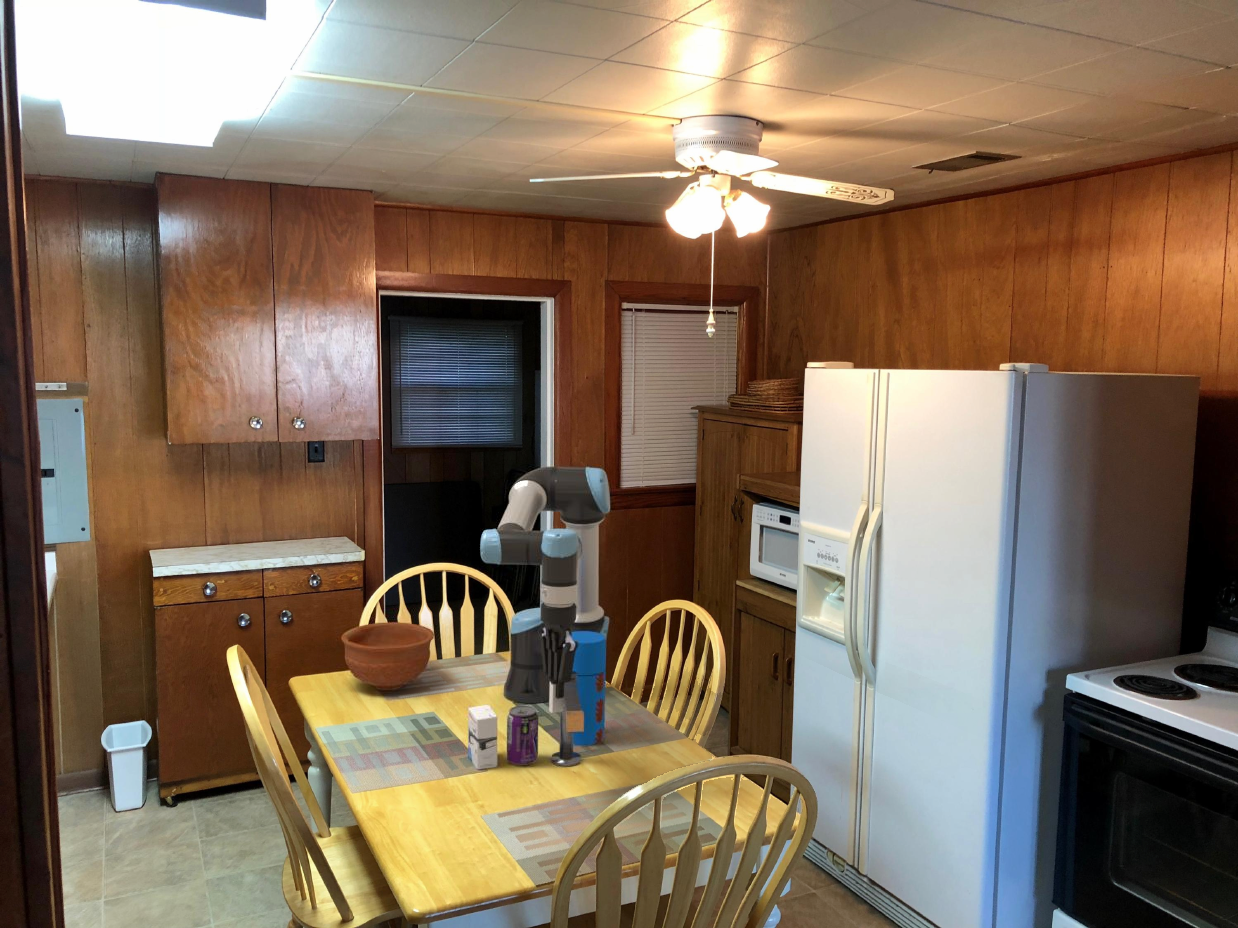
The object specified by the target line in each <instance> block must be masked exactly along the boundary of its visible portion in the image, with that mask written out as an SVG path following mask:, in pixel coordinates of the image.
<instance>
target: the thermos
mask: <svg viewBox="0 0 1238 928" xmlns="http://www.w3.org/2000/svg"><path fill="white" fill-rule="evenodd" d="M571 638H572V640H573V641H577V642H578V647H577V649H576V652H575V658H574V664H573V670H572V671H575V672H577V691H578V696H579V700H580V705H581V709H582V711H583V713H584V731H577V732H574V739H573V746H583V747H584V746H592V745H595V744H599V743H601V742H602V741H603V739H604V735H605V723H606V722H605V716H606V715H605V713H606V672H607V670H606V667H607V666H606V665H607V661H606V660H607V638H606V639H605V636H604V635H602V634H600V633H597V632H590V631H575V632H572V635H571Z"/></svg>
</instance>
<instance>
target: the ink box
mask: <svg viewBox="0 0 1238 928" xmlns="http://www.w3.org/2000/svg"><path fill="white" fill-rule="evenodd" d="M467 709H468V712H467V713H468V714H467V715H468V716H467V718H468V720H467V721H468V722H467V724H468V725H467V726H468V727H467V732H468V733H467V736H468V737H467V738H468V739H467V756H468V758H469V760H470V761H471V762H472V764H473V765H474V766H475V769H476V770H485V769H491V768H497V767H498V716H497V714H496V712H495V711H494V710H493V709H492V707H491V706H490V705H489V704H485V705H479V706H478V705H477V706H471V707H468V708H467Z"/></svg>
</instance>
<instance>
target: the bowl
mask: <svg viewBox="0 0 1238 928" xmlns="http://www.w3.org/2000/svg"><path fill="white" fill-rule="evenodd" d="M434 638H435V633H434V631H433V630H432V629H431V628H428V627H427V626H424V625H419V624H417V623H415V624H414V623H410V622H398V621H395V622H393V621H391V622H376V623H368V624H364V625H360V626H356V627H354V628H351V629H349V630H347V631H345V632H344V633H343V634H342V635H341V642H342V643H343V644H344V660H345V661H344V662H345V663H346V665H347V666H348V669H349V672H350V673H351V675H353V677H354V678H355V679H358V680H359V681H361V682H362V683H365V684H368V685H372V686H374V687H375V688H376V689H377V690H381V691H394V690H397V689H400V688H403V687H404V686H405V684H408V683H410V682H413V681H414V680H416V679H417V678H418V677H419V676H420V675H421V674H422V673H423V672H424V671H425V670H426V669H427V666H428V665H429V661H430V659H431V649H430V648H431V642H432V641H433V639H434Z"/></svg>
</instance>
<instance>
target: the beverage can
mask: <svg viewBox="0 0 1238 928" xmlns="http://www.w3.org/2000/svg"><path fill="white" fill-rule="evenodd" d="M508 712H509V713H508V715H507V717H506V760H507V761H508V762H509V763H511V764H514V765H515V766H527V765H530V764H532V763H535V762H536V761H537V760H538V759H539V716H538V713H537V708H536V707H534V706H532V705H531V706H530V705H515V706H513V707H511V708H509V710H508Z"/></svg>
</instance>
